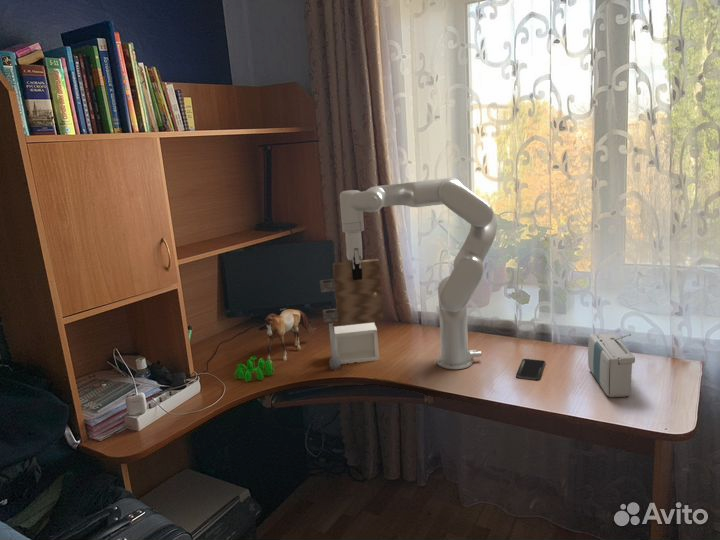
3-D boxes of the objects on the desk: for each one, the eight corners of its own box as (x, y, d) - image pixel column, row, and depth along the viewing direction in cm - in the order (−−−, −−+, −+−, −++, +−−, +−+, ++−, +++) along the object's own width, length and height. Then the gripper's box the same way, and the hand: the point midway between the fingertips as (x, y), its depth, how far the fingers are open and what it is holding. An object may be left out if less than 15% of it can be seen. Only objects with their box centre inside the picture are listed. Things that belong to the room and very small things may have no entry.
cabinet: (376, 351, 221) (373, 309, 217) (381, 365, 209) (377, 320, 205) (328, 357, 220) (324, 315, 215) (330, 370, 207) (326, 326, 203)
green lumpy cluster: (229, 374, 212) (226, 356, 210) (267, 363, 219) (265, 346, 217) (242, 388, 199) (239, 369, 197) (282, 376, 206) (280, 358, 204)
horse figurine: (274, 371, 210) (268, 318, 205) (257, 369, 214) (251, 316, 209) (318, 341, 237) (313, 293, 232) (302, 339, 240) (297, 292, 235)
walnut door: (381, 317, 209) (377, 258, 204) (383, 321, 204) (379, 261, 199) (323, 323, 207) (318, 263, 202) (324, 327, 202) (318, 267, 197)
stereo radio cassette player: (586, 370, 192) (588, 313, 187) (612, 369, 191) (614, 312, 186) (605, 399, 172) (607, 337, 167) (634, 399, 171) (637, 336, 166)
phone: (515, 376, 190) (522, 358, 203) (515, 379, 191) (522, 361, 204) (540, 378, 187) (546, 360, 200) (540, 381, 187) (546, 363, 200)
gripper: (340, 223, 205) (344, 273, 210) (344, 231, 189) (348, 285, 194) (361, 222, 206) (364, 271, 210) (366, 229, 190) (370, 283, 194)
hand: (357, 277), depth 202 cm, fingers closed on walnut door, 3 cm apart
